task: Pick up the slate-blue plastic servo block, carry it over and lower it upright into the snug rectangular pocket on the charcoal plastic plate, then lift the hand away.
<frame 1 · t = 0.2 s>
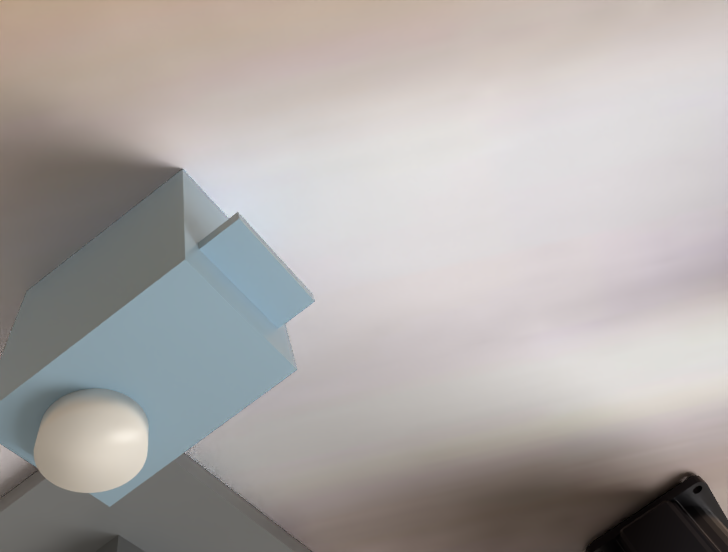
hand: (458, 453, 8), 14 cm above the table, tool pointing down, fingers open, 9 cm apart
servo block: (152, 275, 21), on the table
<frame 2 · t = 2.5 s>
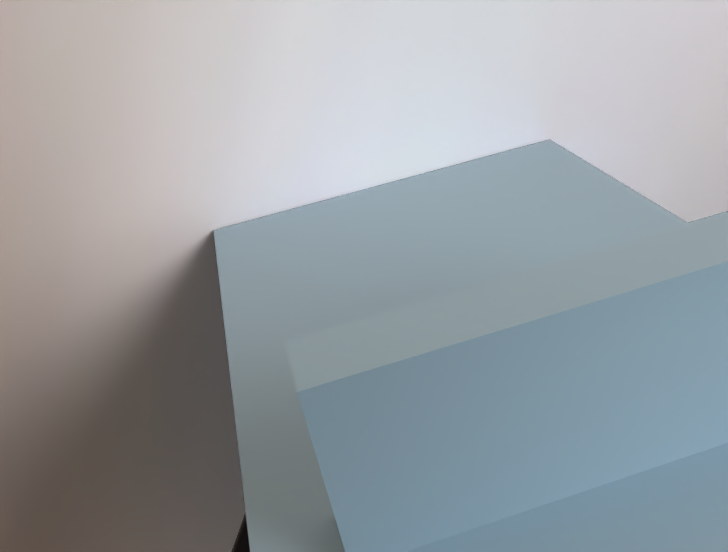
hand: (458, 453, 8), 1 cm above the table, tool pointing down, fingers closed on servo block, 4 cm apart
servo block: (423, 386, 9), on the table, touching gripper
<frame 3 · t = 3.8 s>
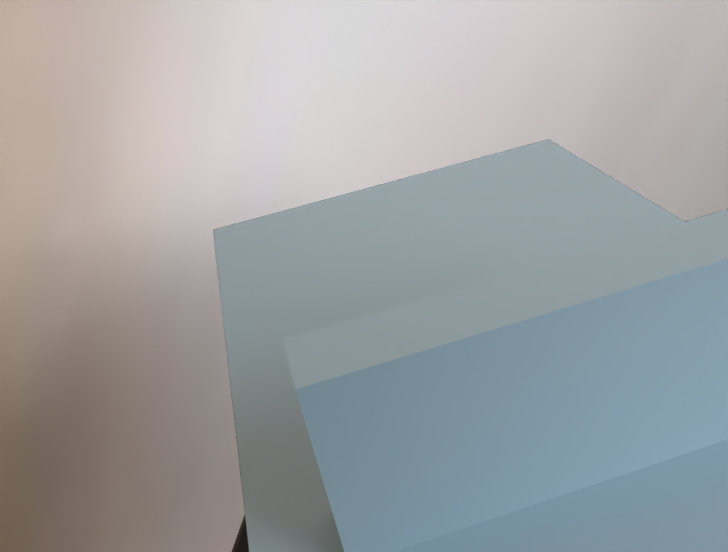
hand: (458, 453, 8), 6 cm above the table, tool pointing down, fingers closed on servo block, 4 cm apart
servo block: (422, 385, 9), point 5 cm above the table, touching gripper
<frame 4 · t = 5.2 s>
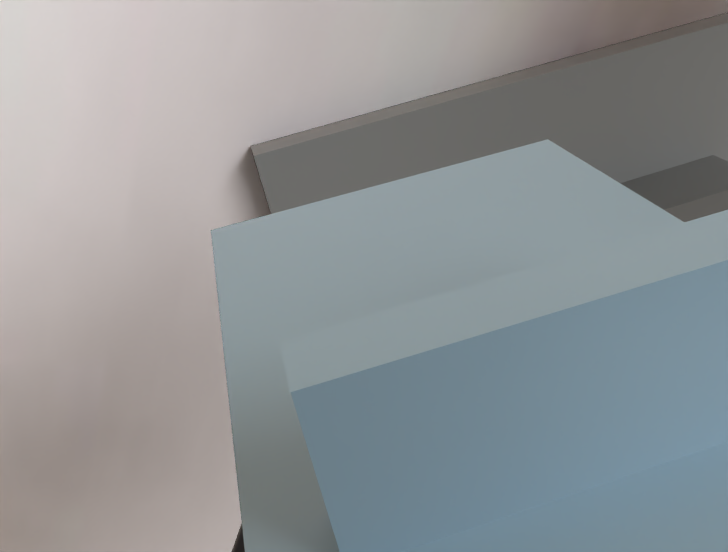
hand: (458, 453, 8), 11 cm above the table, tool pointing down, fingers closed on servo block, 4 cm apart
chassis plate: (566, 338, 22), on the table
servo block: (421, 386, 9), point 10 cm above the table, touching gripper
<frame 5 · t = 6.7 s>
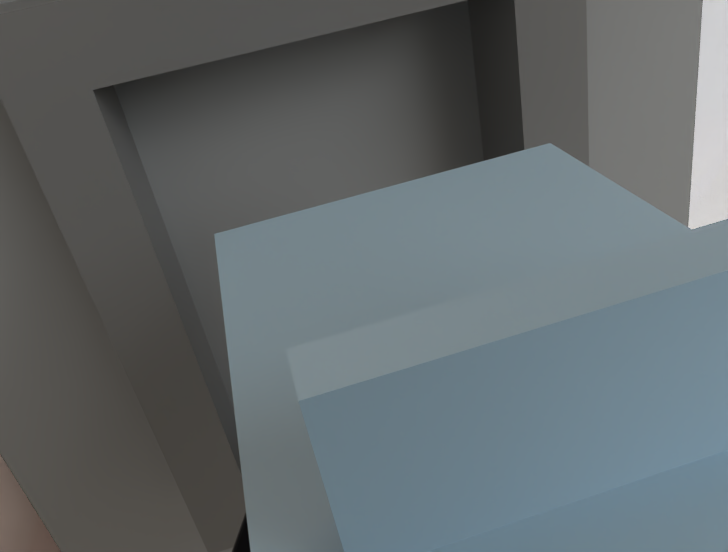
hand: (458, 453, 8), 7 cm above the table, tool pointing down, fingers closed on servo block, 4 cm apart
chassis plate: (332, 219, 14), on the table
servo block: (423, 389, 9), point 6 cm above the table, touching gripper
when the fingers open (4 cm above the table, at t = 8.0 s): servo block drops 2 cm, resting on chassis plate.
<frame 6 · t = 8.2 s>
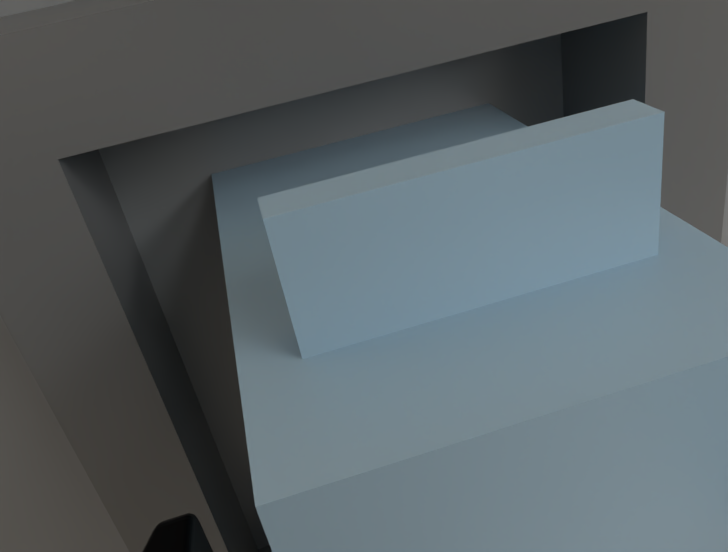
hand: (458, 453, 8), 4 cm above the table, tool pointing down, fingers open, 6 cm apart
chassis plate: (372, 291, 12), on the table
servo block: (388, 315, 11), point 1 cm above the table, touching chassis plate
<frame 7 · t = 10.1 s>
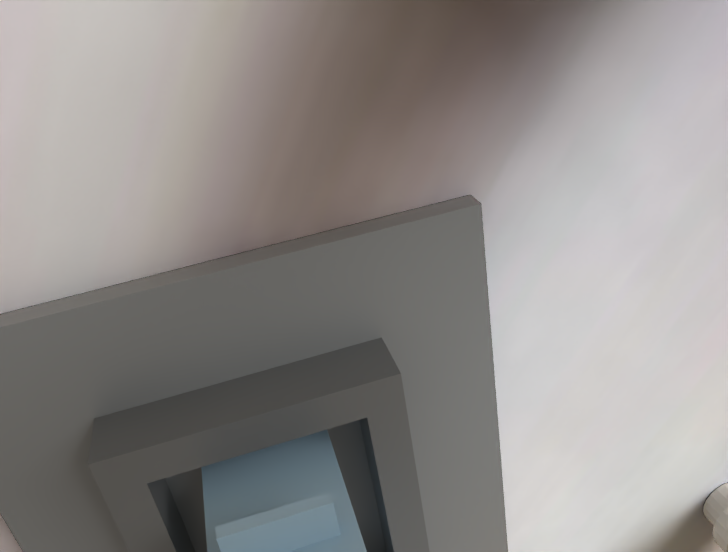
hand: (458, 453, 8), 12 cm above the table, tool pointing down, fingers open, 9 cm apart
chassis plate: (277, 485, 24), on the table
servo block: (282, 502, 23), point 1 cm above the table, touching chassis plate
light bulb: (722, 497, 31), on the table
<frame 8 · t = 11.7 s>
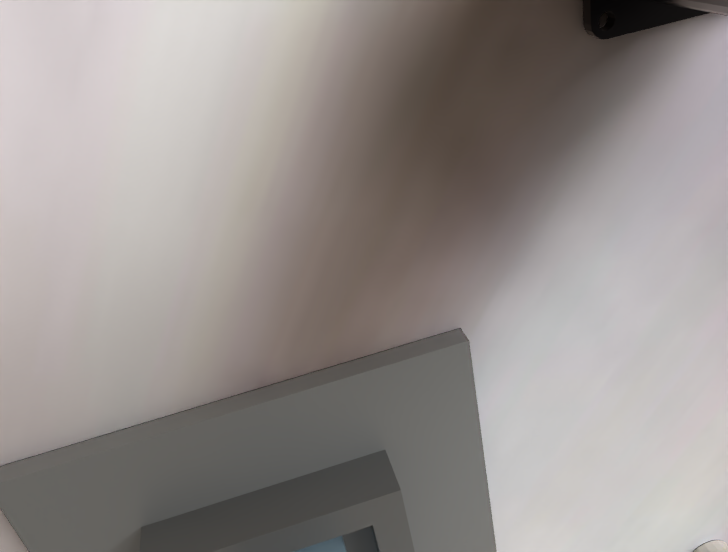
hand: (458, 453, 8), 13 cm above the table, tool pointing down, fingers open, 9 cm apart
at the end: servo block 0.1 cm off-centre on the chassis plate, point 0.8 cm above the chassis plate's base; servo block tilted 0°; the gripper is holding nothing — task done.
